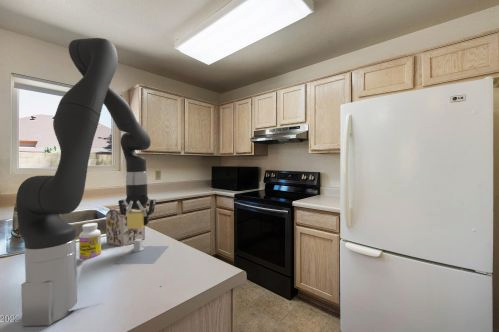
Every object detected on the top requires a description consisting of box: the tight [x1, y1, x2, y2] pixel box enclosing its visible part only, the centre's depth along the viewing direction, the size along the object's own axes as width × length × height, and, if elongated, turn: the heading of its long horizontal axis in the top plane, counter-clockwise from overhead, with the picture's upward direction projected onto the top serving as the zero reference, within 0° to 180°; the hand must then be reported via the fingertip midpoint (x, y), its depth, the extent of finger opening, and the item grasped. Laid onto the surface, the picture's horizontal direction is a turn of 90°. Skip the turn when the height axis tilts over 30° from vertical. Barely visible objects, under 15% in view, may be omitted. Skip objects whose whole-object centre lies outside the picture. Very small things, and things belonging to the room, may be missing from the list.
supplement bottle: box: [78, 222, 102, 262], centre depth 85 cm, size 7×7×13 cm
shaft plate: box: [113, 239, 170, 265], centre depth 86 cm, size 16×14×5 cm
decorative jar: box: [105, 202, 146, 247], centre depth 103 cm, size 12×12×18 cm
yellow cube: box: [127, 210, 149, 229], centre depth 89 cm, size 6×6×6 cm
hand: (137, 225), depth 89 cm, fingers closed on yellow cube, 5 cm apart
